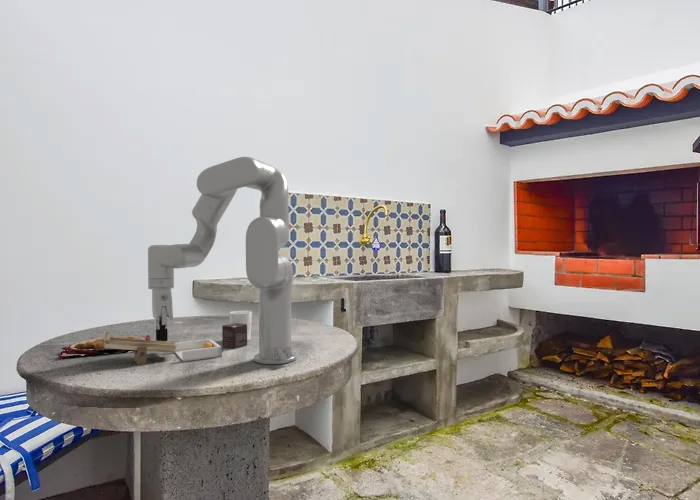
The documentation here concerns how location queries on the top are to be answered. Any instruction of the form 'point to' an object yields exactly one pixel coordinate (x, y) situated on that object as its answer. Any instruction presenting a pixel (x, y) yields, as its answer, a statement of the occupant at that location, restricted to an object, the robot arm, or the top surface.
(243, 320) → the white cup
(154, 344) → the lever
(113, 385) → the top surface
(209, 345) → the ball
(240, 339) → the box
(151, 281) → the robot arm
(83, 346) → the plate with food
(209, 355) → the dish
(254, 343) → the top surface
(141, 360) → the fulcrum
